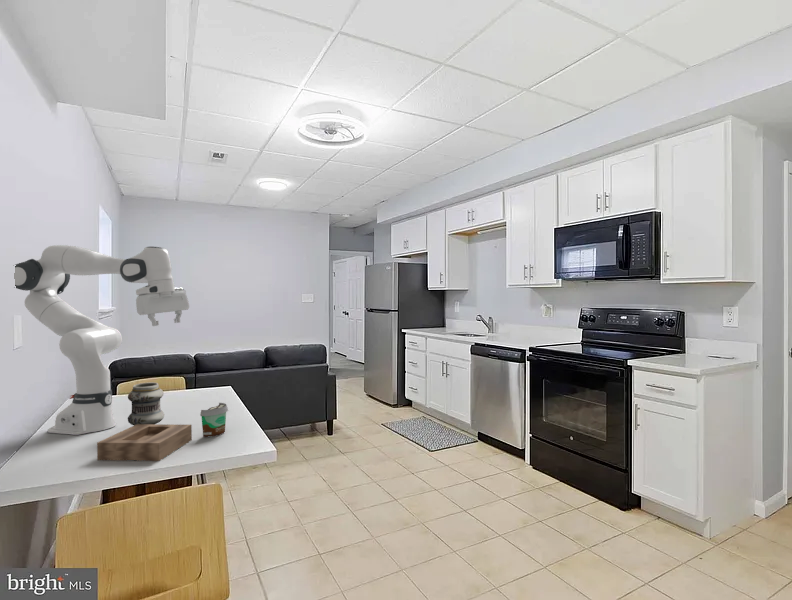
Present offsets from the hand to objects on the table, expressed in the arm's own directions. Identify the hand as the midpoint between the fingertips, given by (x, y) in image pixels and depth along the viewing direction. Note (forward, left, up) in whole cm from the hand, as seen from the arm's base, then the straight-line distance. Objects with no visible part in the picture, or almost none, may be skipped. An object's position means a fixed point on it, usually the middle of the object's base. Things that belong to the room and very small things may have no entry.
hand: (166, 324), depth 176 cm
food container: (+22, -5, -40) cm, 46 cm away
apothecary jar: (-6, -4, -40) cm, 41 cm away
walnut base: (+6, -23, -40) cm, 47 cm away
